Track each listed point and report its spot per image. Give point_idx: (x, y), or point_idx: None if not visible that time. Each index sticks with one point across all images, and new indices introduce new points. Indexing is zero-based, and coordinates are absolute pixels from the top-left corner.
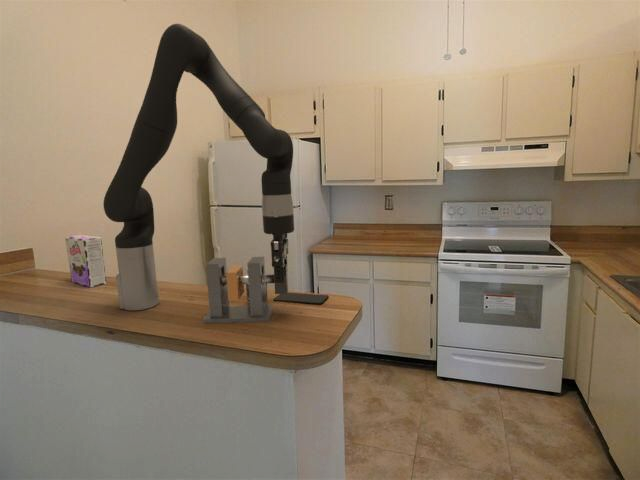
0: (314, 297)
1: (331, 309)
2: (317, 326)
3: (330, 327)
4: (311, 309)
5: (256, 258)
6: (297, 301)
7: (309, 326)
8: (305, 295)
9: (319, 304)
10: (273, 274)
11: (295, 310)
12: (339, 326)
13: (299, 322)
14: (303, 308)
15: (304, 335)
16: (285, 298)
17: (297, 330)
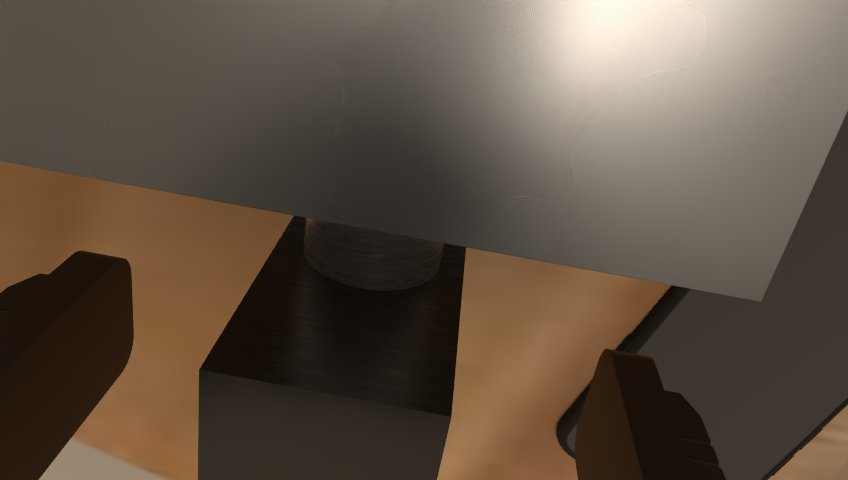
0: (718, 432)
1: (444, 472)
2: (153, 342)
3: (134, 404)
4: (481, 362)
5: (573, 41)
6: (675, 300)
7: (155, 298)
8: (815, 381)
9: (557, 430)
10: (380, 267)
11: (493, 253)
12: (147, 448)
13: (232, 248)
14: (522, 315)
15: (9, 247)
16: (826, 211)
17: (88, 216)
